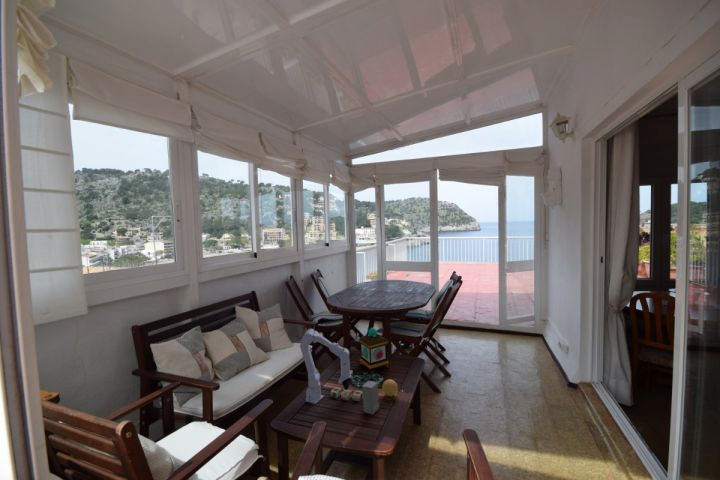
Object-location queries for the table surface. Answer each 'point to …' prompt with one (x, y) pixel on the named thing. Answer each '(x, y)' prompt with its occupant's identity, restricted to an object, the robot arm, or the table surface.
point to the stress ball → (390, 387)
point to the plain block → (346, 394)
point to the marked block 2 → (357, 395)
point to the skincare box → (370, 397)
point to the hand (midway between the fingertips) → (346, 389)
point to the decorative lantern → (373, 350)
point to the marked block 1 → (336, 392)
